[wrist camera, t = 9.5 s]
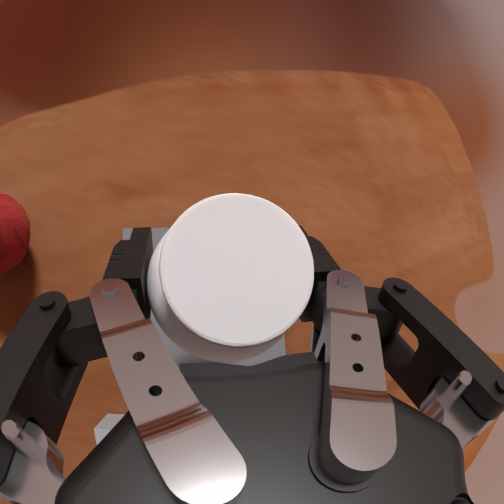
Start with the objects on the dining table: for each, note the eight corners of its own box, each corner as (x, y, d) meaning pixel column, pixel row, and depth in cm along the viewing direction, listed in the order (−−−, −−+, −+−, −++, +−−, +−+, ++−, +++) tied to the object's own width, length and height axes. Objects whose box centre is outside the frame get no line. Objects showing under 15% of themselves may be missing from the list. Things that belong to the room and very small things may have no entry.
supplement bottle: (142, 308, 16) (86, 280, 7) (202, 233, 18) (221, 132, 8) (221, 368, 16) (265, 415, 7) (277, 291, 18) (371, 247, 8)
